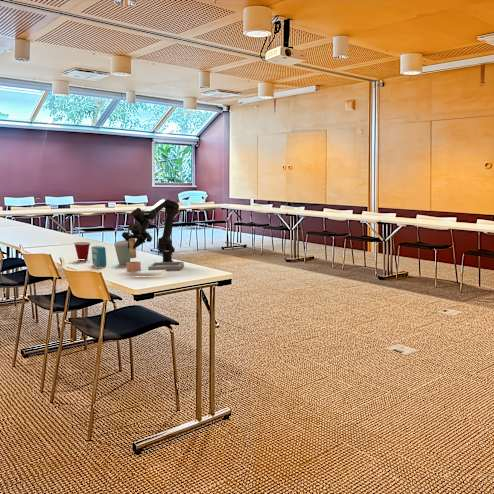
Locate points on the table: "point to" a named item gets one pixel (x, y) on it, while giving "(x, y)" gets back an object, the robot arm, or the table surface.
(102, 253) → the data package
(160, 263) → the tray
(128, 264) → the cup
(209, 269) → the table surface
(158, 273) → the table surface
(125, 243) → the disposable coffee cup
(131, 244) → the dowel
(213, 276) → the table surface
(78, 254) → the plastic cup
